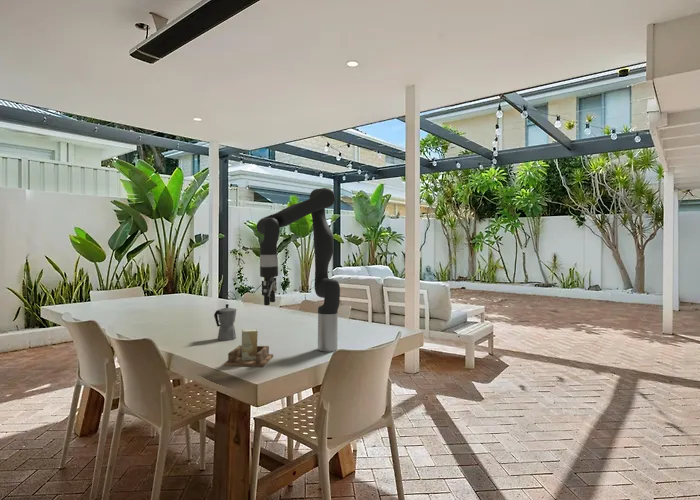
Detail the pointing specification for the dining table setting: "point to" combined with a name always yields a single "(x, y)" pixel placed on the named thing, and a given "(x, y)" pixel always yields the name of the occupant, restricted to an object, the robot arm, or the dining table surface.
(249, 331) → the skincare box
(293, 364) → the dining table surface
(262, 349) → the wooden tray
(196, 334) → the dining table surface
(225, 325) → the coffeepot
